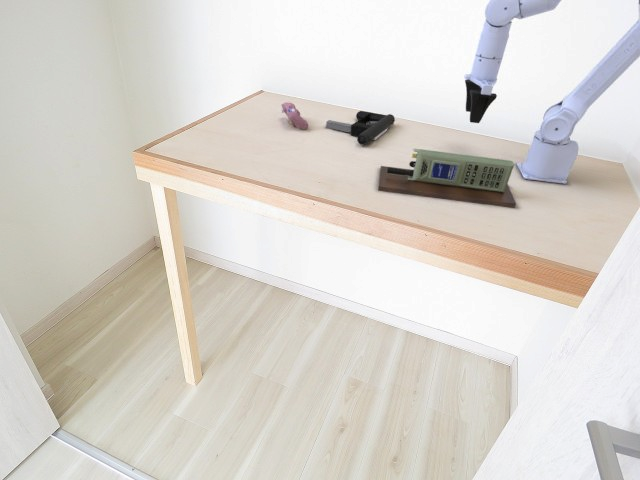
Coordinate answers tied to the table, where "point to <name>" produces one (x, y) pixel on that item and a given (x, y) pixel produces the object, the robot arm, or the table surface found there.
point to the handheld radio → (458, 170)
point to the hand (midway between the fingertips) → (472, 116)
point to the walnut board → (442, 190)
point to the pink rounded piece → (294, 115)
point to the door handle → (365, 126)
